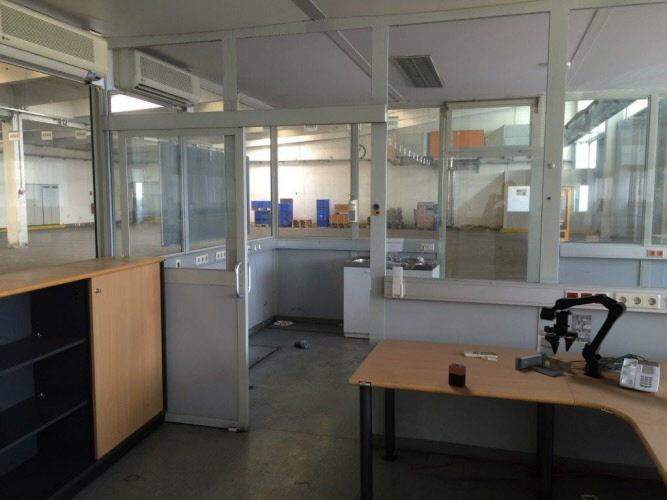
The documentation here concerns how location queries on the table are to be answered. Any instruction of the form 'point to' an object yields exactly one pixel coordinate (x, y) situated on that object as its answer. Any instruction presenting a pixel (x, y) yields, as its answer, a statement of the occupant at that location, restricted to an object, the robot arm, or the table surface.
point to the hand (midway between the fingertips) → (560, 352)
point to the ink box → (544, 345)
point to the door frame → (518, 361)
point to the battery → (457, 374)
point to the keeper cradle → (545, 370)
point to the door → (531, 360)
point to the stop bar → (560, 363)
